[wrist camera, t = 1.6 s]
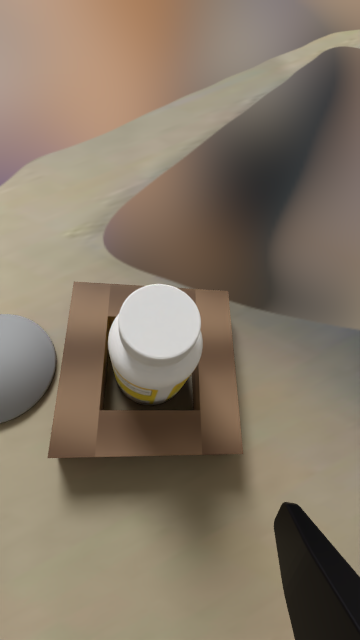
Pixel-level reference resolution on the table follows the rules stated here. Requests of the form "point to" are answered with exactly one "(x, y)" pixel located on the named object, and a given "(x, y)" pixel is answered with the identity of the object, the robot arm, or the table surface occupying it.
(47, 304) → the table surface
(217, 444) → the holder block
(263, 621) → the table surface
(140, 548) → the table surface
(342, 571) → the robot arm
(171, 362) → the supplement bottle
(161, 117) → the table surface
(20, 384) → the grey oval disc
